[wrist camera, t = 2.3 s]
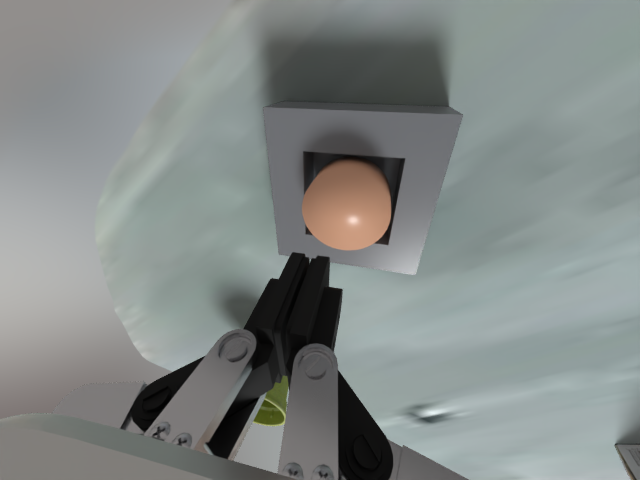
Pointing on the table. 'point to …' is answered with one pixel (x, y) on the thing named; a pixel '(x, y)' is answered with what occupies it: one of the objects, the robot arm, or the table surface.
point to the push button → (348, 204)
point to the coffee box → (630, 459)
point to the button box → (373, 145)
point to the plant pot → (274, 405)
